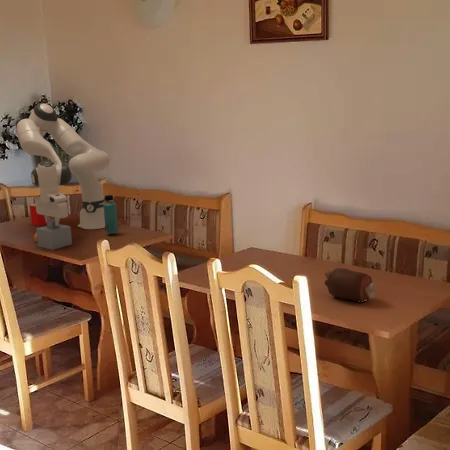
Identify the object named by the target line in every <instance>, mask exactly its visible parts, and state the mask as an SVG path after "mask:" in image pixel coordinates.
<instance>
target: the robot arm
mask: <svg viewBox="0 0 450 450" xmlns="http://www.w3.org/2000/svg"><path fill="white" fill-rule="evenodd" d="M46 134H49V135H51V137H52V139H53V140H54V142H55V143H56V144H57V145H58V146H59V147H60V148H61V149H62V150H63V151H64V153H65V154H67V155H68V156H71V157H72V158H70V160H69V162H68V165H67V164H66V163H65V161H64V159H63V158H62V157H61V155H60V154H59V152H58V150H57V149H56V147H55V146H54V144H53V143H52V142H50V141H48V140H47V139H45V138H44V137H45V135H46ZM16 135H17V140H18V142H19V145H20V147H21V149H22V151H23V152H25V153H26V154H28V155H32V156H38V157H39V156H40V157H45V158H46V159H49V160H45V161H44V160H43V161H41V162H39V163H38V164H37V167H35V168H33V170H32V171H30V172H31V173H30V175H31V183H32V185H33V186H35V187H37V188H39V194H38V195H37V196H36V200H35V203H36V212H37V214H41V215H45V219H46V221H47V220H51V218H50V217H52V218H54V219H55V222H54V226H59V224H60V220H61V219H65V218H68V215H69V208H68V207H69V206H68V202H67V201H68V199H67V195H65V194H63V193H62V192H61V191H60V187H59V186H67V185H68V184H69V183H70V182H71V180H72V174H73V175H74V176H75V177H76V179H77V181H78V182H79V186H80V190H81V191H80V193H81V208H82V209H81V210H80V211H79V224H77V227H78V228H81V229H84V230H98V229H99V230H100V229H105V218H104V207H103V204H104V203H105V202H107V200H105V196H104V186H103V183H102V182H100V181H99V179H98V177H97V175H96V173H98V172H101V171H104V170H105V169H106V168H107V167H109V166H110V157H109V154H108V153H107V152H105V151H103V150H101V149H99V148H97V147H95V146H93V145H92V144H90V143H88V142H87V141H86V140H84V139H83V137H81V135H79V133H77V132H76V130H75V129H74V128H73V127H72V126H71V125H70V124H69V123H67V122H66V121H65V120H63V119H62V118H60V117H58V114H57V112H56V111H55V109H54V108H53V107H52V106H51V105H50V104H48V103H46V102H39V103H37V105H35V106H34V108H33V110H32V111H31V113H30V115H29V117H28V118H23V119H21V120H19V121H18V123H17V124H16Z"/></svg>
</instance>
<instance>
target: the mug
mask: <svg viewBox="0 0 450 450" xmlns="http://www.w3.org/2000/svg"><path fill="white" fill-rule="evenodd" d="M28 207H29V212H30V221H31V225H32V224H33V226H39V225H41V226H43V225H44V226H46V225H47V221H46V219H45V215H41V214H37V212H36V202H34V203H31V204H29V206H28ZM39 227H40V226H39Z"/></svg>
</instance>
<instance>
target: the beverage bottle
mask: <svg viewBox="0 0 450 450" xmlns="http://www.w3.org/2000/svg"><path fill="white" fill-rule="evenodd" d="M104 198H105V200H106V201H105V203H104V204H103V207H104V218H105V228H104V229H105V233H106V234H116V233H119V222H118V213H117V203H116V202H114V196H113V195H112V194H107V195H106V194H105V196H104Z"/></svg>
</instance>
